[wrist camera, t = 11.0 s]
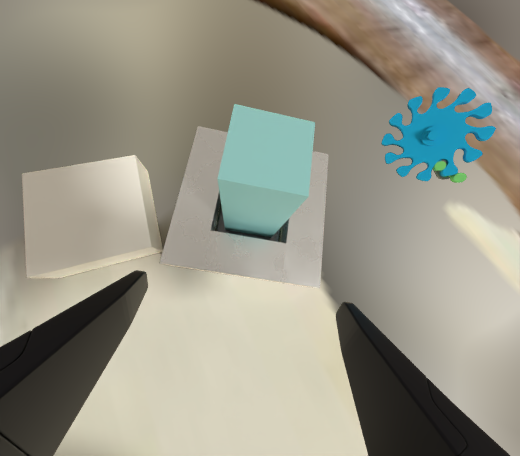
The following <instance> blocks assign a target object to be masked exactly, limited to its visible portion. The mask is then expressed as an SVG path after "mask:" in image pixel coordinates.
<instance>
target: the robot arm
mask: <svg viewBox="0 0 520 456" xmlns="http://www.w3.org/2000/svg"><path fill="white" fill-rule="evenodd" d="M147 288H148V282H147V274H146V272H144V271H134V272H132V273H130V274H128V275H127V276H125V277H123V278H121V279H120V280H118V281H116V282H114V283H112V284H111V285H109V286H107V287H105V288H104V289H102V290H100V291H98V292H97V293H95V294H93V295H91V296H90V297H88V298H86V299H84V300H83V301H81V302H79V303H77V304H76V305H74V306H72V307H70V308H69V309H67V310H65V311H63V312H62V313H60V314H58V315H56V316H55V317H53V318H51V319H49V320H48V321H46V322H44V323H42V324H41V325H39V326H37V327H35V328H34V329H33V330H32V331H28V332H26V333H25V334H23V335H21V336H19V337H18V338H16V339H14V340H12V341H11V342H9V343H7V344H5V345H3V346H1V347H0V456H53V455H54V453H55V452H56V450H57V448H58V447H59V445H60V443H61V442H62V440H63V438H64V437H65V435H66V433H67V432H68V430H69V428H70V426H71V425H72V423H73V421H74V420H75V418H76V416H77V415H78V413H79V411H80V410H81V408H82V406H83V405H84V403H85V401H86V400H87V398H88V396H89V394H90V393H91V391H92V389H93V388H94V386H95V384H96V383H97V381H98V379H99V378H100V376H101V374H102V373H103V371H104V369H105V368H106V366H107V364H108V362H109V361H110V359H111V357H112V356H113V354H114V352H115V351H116V349H117V347H118V346H119V344H120V342H121V341H122V339H123V337H124V336H125V334H126V332H127V330H128V329H129V327H130V325H131V323H132V321H133V319H134V317H135V315H136V313H137V311H138V308H139V306H140V304H141V302H142V300H143V297H144V295H145V293H146V291H147ZM336 321H337V328H338V334H339V340H340V346H341V352H342V356H343V360H344V364H345V367H346V371H347V375H348V379H349V383H350V387H351V390H352V394H353V398H354V402H355V406H356V410H357V414H358V417H359V421H360V425H361V429H362V433H363V437H364V440H365V444H366V448H367V452H368V456H510V455H509V454H508V453H507V452H506V451H505V450H503V448H501V447H500V446H499V445H498V444H497V443H496V442H495V441H494V440H493V439H491V438H490V437H489V436H488V435H487V434H486V433H485V432H484V431H483V430H482V429H480V428H479V427H478V426H477V425H476V424H475V423H474V422H473V421H472V420H471V419H470V418H469V417H467V416H466V415H465V414H464V413H463V412H462V411H461V410H460V409H459V408H458V407H457V406H456V405H455V404H453V403H452V402H451V401H450V400H449V399H448V398H447V397H446V396H445V395H444V394H443V393H442V392H441V391H440V390H439V389H438V388H437V387H436V386H435V385H434V384H433V383H432V382H431V381H430V380H429V379H428V378H426V376H425V375H424V374H423V373H422V372H421V371H420V370H419V369H418V368H417V367H416V366H415V365H414V364H413V363H412V362H411V361H410V360H409V359H408V358H407V357H406V356H405V355H404V354H403V353H402V352H401V351H400V350H399V349H398V348H397V347H396V346H395V345H394V344H393V343H392V342H391V341H390V340H389V339H388V338H387V337H386V336H385V335H384V334H383V333H382V332H381V331H380V330H379V329H378V328H377V327H376V326H375V325H374V324H373V323H372V322H371V321H370V320H369V319H368V318H367V317H366V316H365V315H364V314H363V313H362V312H361V311H360V310H359V309H358V308H357V307H356V306H355V305H354V304H353V303H349V302H343V303H342V304H341V306H340V307H339V309H338V311H337V313H336Z"/></svg>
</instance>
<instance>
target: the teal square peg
mask: <svg viewBox="0 0 520 456" xmlns="http://www.w3.org/2000/svg"><path fill="white" fill-rule="evenodd" d="M314 128H315V122H311V121H307V120H302V119H298V118H293V117H289V116H285V115H280V114H276V113H271V112H267V111H263V110H258V109H254V108H250V107H245V106H241V105H237V104H234V108H233V112H232V116H231V121H230V126H229V130H228V134H227V139H226V143H225V147H224V152H223V156H222V161H221V165H220V170H219V174H218V178H217V179H218V186H219V193H220V199H221V206H222V213H223V219H224V226H225V230H230V231H236V232H242V233H248V234H254V235H259V236H265V237H271V238H272V236H273V235H274V234H275V233H276V232H277V231H278V230H279V229H280V228H281V227H282V225H283V224H284V223H285V222H286V221H287V220H288V219H289V218H290V217H291V215H292V214H293V213H294V212H295V211H296V210H297V209H298V208H299V207H300V205H301V204H302V203H303V202H304V201H305V200H306V199H307V198H308V197H309V187H310V175H311V163H312V152H313V140H314Z"/></svg>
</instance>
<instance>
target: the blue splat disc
mask: <svg viewBox="0 0 520 456" xmlns="http://www.w3.org/2000/svg"><path fill="white" fill-rule="evenodd" d="M449 92H450V89H448V88H443V87H440V88H437V89H436V90H435V92H434V93H433V96H432V98H433V100H432V104H431V106H430V108H429V109H428V111H427V112H426V113H424V114H419V113H418V112H417V109H418V108H419V106H420V105H421V103H422V100H423V99H422V97H421V96H419V97H415V98H413V99H411V100H409V102H408V108H409V110H410V111H411V113H412V121H411V124H410V125H407V126H404V125H402V115H401V114H400V113H397V114H396V115H394V116H393V117H392V118H391V119H390V120H389V124H390V125H391V126H394V127H397V128H398V129H399V130H400V131H401V132H402V134H403V138H402V139H401V140H399V141H397V140H395V139H394V138H393V136H392V135H391V134H386V135H385V136H384V138H383V140H382V145H384V146H387V145H397V146H399V147H401V148H403V153H402V154H401V155H396V154H394V153H391V152H390V153H387V154H386V155H385V161H386V163H387V164H390V163H392V162H394V161H395V160H397V159H400V158H411V159H412V164H411V165H409V166H401V167H399V168H398V169H397V170H396V171H397V173H398V174H399V175H400V176H401V177H404V176H406V175H407V174H408V173H409V171H410V170H411V169H412V168H413V167H414V166H415V165H417V164H419V163H423V162H424V163H426V164H427V165H428V167H427V169H426V170H424V171H422V172H420V173H419V174H418V175H417V176H416V178H417V179H418V180H422V181H428V180H430V178H431V171H432V169H433V170H434V172H435V174H436V176H437V177H438V178H439V179H449V178H450V179H451V181H452V182H463V181H464V180H465V179H466V174H464V173H458V169H457V167H456V166H455V165H454V162H453V156H454V152H455V151H456V150H457V149H462V150H463V151H464V155H463V160H464V161H465V162H467V163H468V162H472V161H474V160H476V159H477V158H479V157H480V156H481V155H483V154H482V152H481V151H480V150H477V149H474V148H472V147H470V146H469V145H468V144H467V142H466V140H465V136H466V134H467V133H473V134H474V135H475V137H476V139H477V140H479V141H485V140H488V139H489V138H490V137H491V136H492V135H493V133H494V131H495V129H496V128H495V127H493V126H487V127H481V128H477V127H472V126H470V125H467V124H466V123H465V119H466V118H467V117H474V118H477V119H483V118H485V117H487V116H489V115H490V114H491V112H492V106H491V103H485V104H482V105H481V106H479V107H478V108H476V109H474V110H472V111H469V112H463V113H457V112H455V110H454V108H455V106H457V105H461V104H467V103H469V102H470V101H471V100H472V99H474V98H475V96H476V94H475V92H474V91H473V90H471V89H470V88H467V89H465V90H464V91H462V93H461V94H460V95H459V96H458V98H457V99H456V101H455V102H453V103H452V104H451V105H449V106H447V107H445V108H443V109H438V108H437V106H436V105H437V103H438V102H440V101H442V100H443V99H445V98H446V96H447V95H448V94H449Z"/></svg>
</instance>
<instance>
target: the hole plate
mask: <svg viewBox="0 0 520 456" xmlns="http://www.w3.org/2000/svg"><path fill="white" fill-rule="evenodd" d="M227 134H228V132H223V131H219V130H214V129H210V128H204V127H200V126H198V127H197V131H196V134H195V138H194V141H193V145H192V149H191V152H190V156H189V159H188V163H187V166H186V170H185V174H184V177H183V181H182V184H181V188H180V191H179V195H178V199H177V202H176V206H175V209H174V213H173V216H172V220H171V224H170V227H169V231H168V234H167V238H166V241H165V245H164V249H163V252H162V256H161V259H160V263H161V264H165V265H169V266H175V267H182V268H188V269H195V270H201V271H207V272H214V273H220V274H227V275H233V276H240V277H246V278H253V279H259V280H265V281H272V282H278V283H285V284H291V285H298V286H304V287H312V288H320V279H321V264H322V248H323V232H324V216H325V200H326V185H327V169H328V154H325V153H320V152H315V151H313V152H312V163H311V175H310V187H309V197H308V198H307V199H306V200H305V201H304V202H303V203H302V204H301V205H300V207H299V208H298V209H297V210H296V211H295V212H294V213H293V214H292V215H291V217H290V218H289V219H288V220H287V221H286V222H285V223H284V224H283V225H282V229H281V237H280V242H278V240H279V232H280V229H279V230H278V231H277V232H276V233H275V234H274V235H273V236H272V238H271V237H265V236H259V235H254V234H248V233H242V232H236V231H230V230H225V226H224V219H223V213H222V209H221V213H220V218H219V223H218V227H217V231H215V228H216V223H217V219H218V214H219V209H220V205H221V199H220V193H219V186H218V179H217V178H218V174H219V170H220V165H221V161H222V156H223V152H224V147H225V143H226V139H227Z"/></svg>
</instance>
